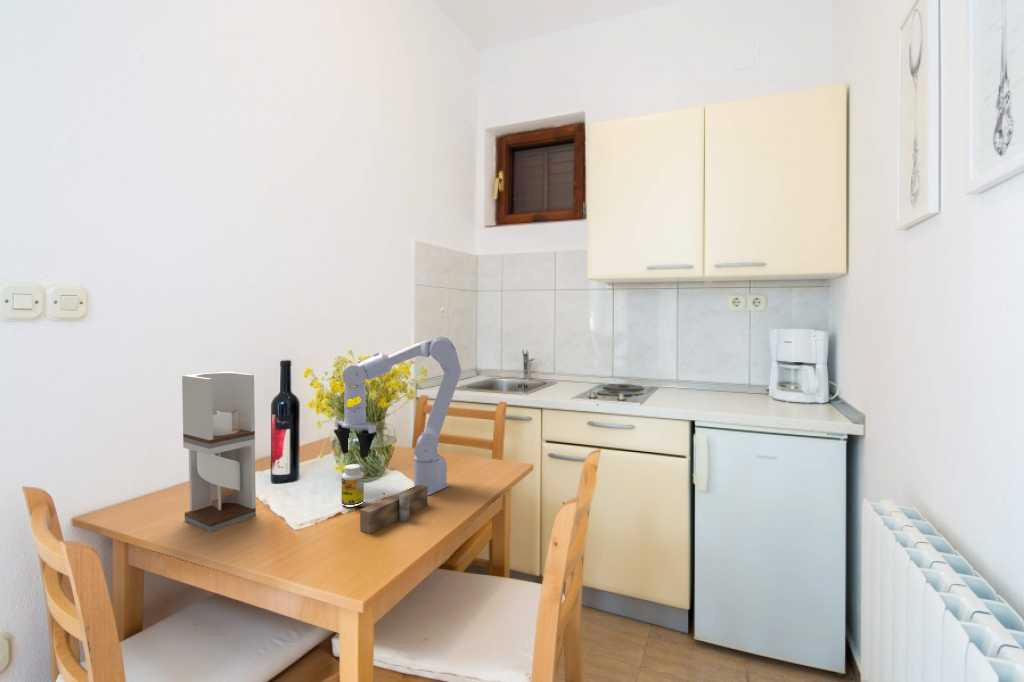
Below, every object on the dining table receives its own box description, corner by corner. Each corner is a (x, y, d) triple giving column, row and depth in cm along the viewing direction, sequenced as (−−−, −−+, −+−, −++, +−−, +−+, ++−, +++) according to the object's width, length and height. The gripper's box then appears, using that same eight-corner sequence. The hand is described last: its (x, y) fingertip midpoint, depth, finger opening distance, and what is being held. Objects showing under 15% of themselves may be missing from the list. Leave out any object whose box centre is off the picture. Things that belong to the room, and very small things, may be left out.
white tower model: (184, 520, 114) (182, 375, 113) (229, 506, 123) (227, 371, 122) (210, 532, 108) (208, 379, 107) (255, 515, 118) (254, 374, 116)
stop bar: (418, 502, 127) (418, 480, 127) (434, 507, 124) (434, 484, 124) (360, 530, 110) (360, 505, 110) (377, 536, 107) (377, 510, 107)
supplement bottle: (336, 505, 125) (336, 467, 124) (353, 498, 129) (353, 461, 129) (351, 510, 122) (351, 470, 121) (368, 503, 127) (368, 465, 126)
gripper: (326, 406, 134) (326, 454, 135) (362, 412, 127) (362, 462, 128) (346, 403, 140) (346, 448, 141) (381, 408, 133) (381, 456, 134)
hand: (355, 454), depth 135 cm, fingers open, 7 cm apart
